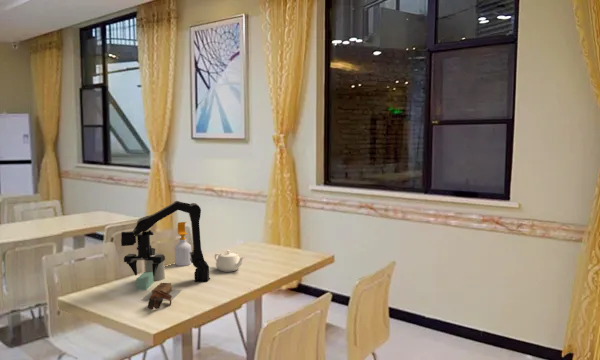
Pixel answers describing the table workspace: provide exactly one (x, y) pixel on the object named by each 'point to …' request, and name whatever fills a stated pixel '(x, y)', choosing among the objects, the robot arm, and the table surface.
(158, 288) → the brown wooden block
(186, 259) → the soap bottle
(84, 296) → the table surface
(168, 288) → the post
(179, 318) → the table surface
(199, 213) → the robot arm
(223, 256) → the teapot
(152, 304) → the brown curved piece
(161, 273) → the speckled grey cylinder
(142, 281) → the lintel
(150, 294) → the build mat
